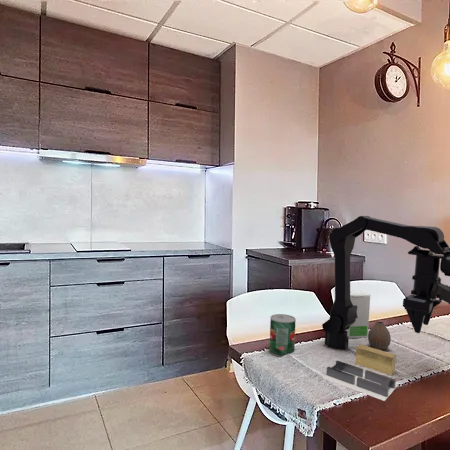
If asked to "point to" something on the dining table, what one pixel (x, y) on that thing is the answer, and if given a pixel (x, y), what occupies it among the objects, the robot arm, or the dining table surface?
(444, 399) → the dining table surface
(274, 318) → the canned tomato
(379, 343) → the brown egg-shaped piece
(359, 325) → the skincare box
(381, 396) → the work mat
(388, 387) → the gray two-section tray
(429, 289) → the robot arm
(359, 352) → the tan block
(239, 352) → the dining table surface
